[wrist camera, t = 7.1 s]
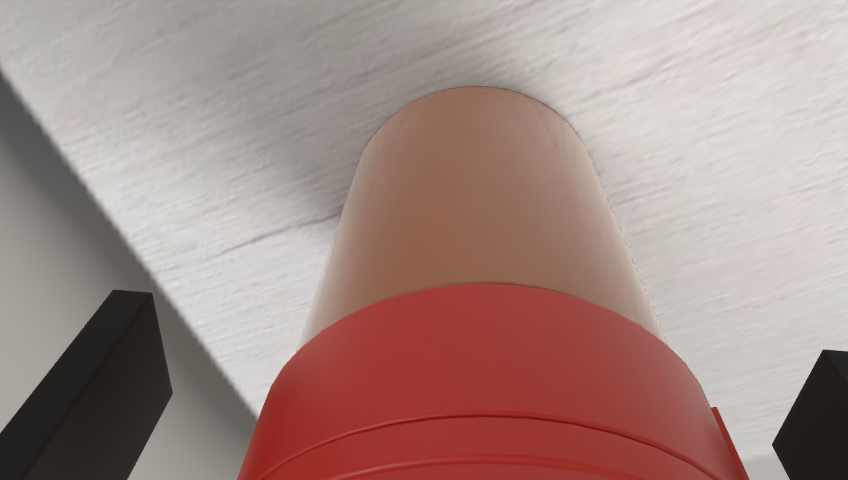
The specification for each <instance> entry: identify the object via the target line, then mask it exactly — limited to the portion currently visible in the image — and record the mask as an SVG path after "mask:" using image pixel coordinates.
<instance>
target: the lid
mask: <svg viewBox="0 0 848 480" xmlns="http://www.w3.org/2000/svg"><path fill="white" fill-rule="evenodd" d="M237 480H749V478H748V476H747V473H746V471H745V469H744V467H743V464H742V462H741V460H740V458H739V455H738V453H737V451H736V449H735V447H734V444H733V442H732V440H731V438H730V436H729V433H728V431H727V429H726V427H725V425H724V422H723V420H722V418H721V416H720V414H719V411H718V409H717V407H713V408H711V407H710V405H709V403H708V401H707V399H706V396H705V394H704V392H703V390H702V388H701V386H700V384H699V382H698V381H697V379H696V378H695V376H694V375H693V374H692V372H691V371H690V369H689V368H688V367H687V365H686V364H685V363H684V362H683V361H682V360H681V359H680V358H679V357H678V356H677V355H676V354H675V353H674V352H673V351H672V350H671V349H670V348H669V347H668V346H667V345H666V344H665V343H664V342H662V341H661V340H660V339H658V338H657V337H656V336H654V335H653V334H651V333H650V332H649V331H647V330H646V329H645V328H643V327H642V326H640V325H639V324H637V323H635V322H633V321H631V320H629V319H627V318H625V317H624V316H622V315H620V314H618V313H616V312H614V311H612V310H610V309H607V308H604V307H602V306H599V305H596V304H594V303H591V302H589V301H586V300H583V299H580V298H576V297H572V296H569V295H565V294H561V293H557V292H553V291H549V290H542V289H535V288H528V287H521V286H514V285H485V284H474V285H460V286H446V287H438V288H433V289H427V290H422V291H416V292H411V293H407V294H403V295H400V296H397V297H393V298H390V299H387V300H383V301H380V302H377V303H374V304H372V305H370V306H367V307H365V308H363V309H361V310H358V311H356V312H354V313H351V314H349V315H347V316H345V317H344V318H342V319H340V320H339V321H337V322H335V323H334V324H332V325H330V326H329V327H327V328H325V329H324V330H322V331H321V332H320V333H318V334H317V335H316V336H315V337H314V338H312V339H311V340H310V341H309V342H307V343H306V344H305V345H304V346H302V347H301V348H300V349H299V350H298V351H297V352H296V354H295V355H294V356H293V357H292V358H291V359H290V360H289V361H288V362H287V363H286V365H285V366H284V367H283V368H282V370H281V372H280V373H279V375H278V376H277V378H276V379H275V381H274V383H273V384H272V386H271V388H270V391H269V393H268V395H267V398H266V400H265V403H264V405H263V408H262V411H261V414H260V417H259V419H258V422H257V425H256V428H255V431H254V434H253V436H252V439H251V442H250V445H249V448H248V451H247V453H246V456H245V459H244V462H243V465H242V467H241V470H240V473H239V476H238V479H237Z"/></svg>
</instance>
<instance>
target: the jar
mask: <svg viewBox="0 0 848 480" xmlns="http://www.w3.org/2000/svg"><path fill="white" fill-rule="evenodd" d="M474 284H485V285H514V286H521V287H528V288H535V289H542V290H549V291H553V292H557V293H561V294H565V295H569V296H572V297H576V298H580V299H583V300H586V301H589V302H591V303H594V304H596V305H599V306H602V307H604V308H607V309H610V310H612V311H614V312H616V313H618V314H620V315H622V316H624V317H625V318H627V319H629V320H631V321H633V322H635V323H637V324H639V325H640V326H642V327H643V328H645V329H646V330H647V331H649V332H650V333H651V334H653V335H654V336H656V337H657V338H658V339H660V340H661V341H662V342H664V343H665V344H666V345H667V346H668V344H667V342H666V339H665V337H664V334H663V332H662V330H661V327H660V325H659V322H658V320H657V317H656V315H655V313H654V310H653V308H652V305H651V303H650V300H649V298H648V296H647V293H646V291H645V288H644V286H643V283H642V281H641V279H640V276H639V274H638V271H637V269H636V266H635V264H634V262H633V259H632V257H631V254H630V252H629V249H628V247H627V245H626V242H625V240H624V237H623V235H622V232H621V230H620V228H619V225H618V223H617V220H616V218H615V215H614V213H613V211H612V208H611V206H610V203H609V201H608V199H607V196H606V194H605V191H604V189H603V186H602V184H601V182H600V179H599V177H598V174H597V172H596V169H595V167H594V165H593V162H592V160H591V157H590V155H589V153H588V151H587V149H586V147H585V145H584V143H583V142H582V140H581V139H580V137H579V136H578V134H577V133H576V131H575V130H574V129H573V128H572V127H571V126H570V125H569V124H568V123H567V122H566V121H565V120H564V119H563V118H562V117H561V116H559V115H558V114H557V113H556V112H555V111H553V110H552V109H550V108H549V107H547V106H545V105H544V104H542V103H540V102H539V101H537V100H535V99H532V98H530V97H528V96H525V95H523V94H520V93H516V92H513V91H509V90H506V89H499V88H493V87H461V88H452V89H448V90H444V91H440V92H436V93H433V94H430V95H428V96H425V97H423V98H420V99H418V100H416V101H414V102H412V103H411V104H409V105H407V106H405V107H404V108H402V109H401V110H399V111H398V112H397V113H395V114H394V115H393V116H391V117H390V118H389V119H388V120H387V121H386V122H385V123H384V124H383V125H382V126H381V127H380V128H379V129H378V130H377V132H376V133H375V134H374V135H373V137H372V138H371V139H370V141H369V142H368V144H367V146H366V148H365V149H364V151H363V153H362V155H361V158H360V160H359V163H358V165H357V168H356V171H355V174H354V177H353V180H352V183H351V186H350V189H349V192H348V195H347V198H346V202H345V205H344V208H343V211H342V214H341V217H340V220H339V223H338V226H337V229H336V232H335V235H334V238H333V241H332V244H331V247H330V250H329V253H328V256H327V259H326V262H325V266H324V269H323V272H322V275H321V278H320V281H319V284H318V287H317V290H316V293H315V296H314V299H313V302H312V305H311V308H310V311H309V314H308V317H307V320H306V323H305V326H304V330H303V333H302V336H301V339H300V342H299V345H298V348H297V351H298V350H299V349H300V348H301V347H302V346H304V345H305V344H306V343H307V342H309V341H310V340H311V339H312V338H314V337H315V336H316V335H317V334H318V333H320V332H321V331H322V330H324V329H325V328H327V327H329V326H330V325H332V324H334V323H335V322H337V321H339V320H340V319H342V318H344V317H345V316H347V315H349V314H351V313H354V312H356V311H358V310H361V309H363V308H365V307H367V306H370V305H372V304H374V303H377V302H380V301H383V300H387V299H390V298H393V297H397V296H400V295H403V294H407V293H411V292H416V291H422V290H427V289H433V288H438V287H446V286H460V285H474ZM297 351H296V352H297Z"/></svg>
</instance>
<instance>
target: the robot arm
mask: <svg viewBox="0 0 848 480" xmlns="http://www.w3.org/2000/svg"><path fill="white" fill-rule="evenodd" d="M172 394H173V392H172V387H171V382H170V378H169V373H168V368H167V363H166V358H165V354H164V349H163V344H162V339H161V334H160V329H159V324H158V319H157V314H156V310H155V305H154V300H153V295H152V293H146V292H135V291H123V290H113V291H112V292H111V293H110V295H109V296H108V297H107V298H106V300H105V301H104V302H103V303H102V305H101V306H100V307H99V309H98V310H97V311H96V312H95V314H94V315H93V316H92V318H91V319H90V320H89V321H88V322H87V324H86V325H85V326H84V328H83V329H82V330H81V331H80V333H79V334H78V336H76V338H75V339H74V340H73V342H72V343H71V344H70V345H69V347H68V348H67V349H66V351H65V352H64V353H63V354H62V356H61V357H60V358H59V359H58V361H57V362H56V363H55V364H54V366H53V367H52V368H51V370H50V371H49V372H48V373H47V375H46V376H45V377H44V379H43V380H42V381H41V382H40V384H39V385H38V386H37V387H36V389H35V390H34V391H33V392H32V394H31V395H30V396H29V397H28V399H27V400H26V402H25V403H24V404H23V405H22V407H21V408H20V409H19V410H18V412H17V413H16V414H15V415H14V417H13V418H12V419H11V420H10V422H9V423H8V424H7V425H6V427H5V428H4V429H3V431H2V432H1V433H0V480H127V479H128V477H129V475H130V473H131V472H132V470H133V468H134V466H135V464H136V462H137V460H138V458H139V456H140V454H141V453H142V451H143V449H144V447H145V445H146V443H147V441H148V439H149V437H150V436H151V434H152V432H153V430H154V428H155V426H156V424H157V422H158V420H159V418H160V417H161V415H162V413H163V411H164V409H165V407H166V405H167V403H168V402H169V400H170V398H171V396H172ZM772 446H773V448H774V450H775V452H776V454H777V456H778V458H779V460H780V461H781V463H782V465H783V467H784V469H785V471H786V473H787V475H788V477H789V479H790V480H848V352H847V351H835V350H822V352H821V354H820V356H819V358H818V360H817V362H816V364H815V365H814V367H813V369H812V371H811V373H810V375H809V377H808V378H807V380H806V382H805V384H804V386H803V388H802V390H801V391H800V393H799V395H798V397H797V399H796V401H795V403H794V404H793V406H792V408H791V410H790V412H789V414H788V416H787V417H786V419H785V421H784V423H783V425H782V427H781V429H780V430H779V432H778V434H777V436H776V438H775V440H774V442H773V443H772Z"/></svg>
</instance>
